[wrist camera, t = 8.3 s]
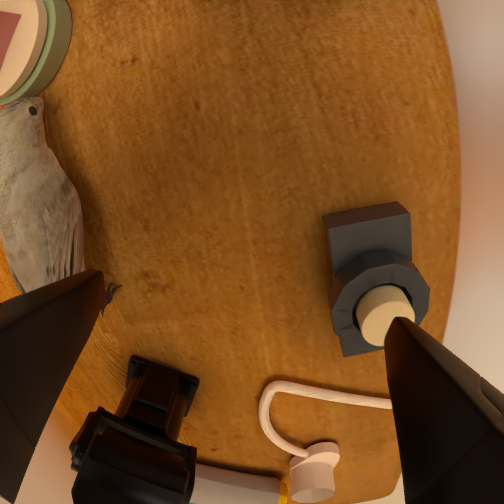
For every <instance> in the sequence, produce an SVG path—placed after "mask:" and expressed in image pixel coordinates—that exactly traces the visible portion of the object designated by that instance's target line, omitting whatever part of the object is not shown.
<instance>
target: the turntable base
mask: <svg viewBox="0 0 504 504" xmlns="http://www.w3.org/2000/svg"><path fill="white" fill-rule="evenodd" d="M42 1H43V3H44V5H45V8H46V12H47V30H46V36H45V41H44V44H43V48H42V51H41V53H40V56H39V58H38V60H37V63H36V65H35V66H34V68H33V70H32V72H31V73H30V75H29V76H28V78H27V79H26V80H25V82H24V83H23V84H22V85H21V86H20V87H19V88H18V89H17V90H16V91H15V92H13V93H12V94H10V95H9V96H7V97H4V98H1V99H0V105H6V104H10V103H11V102H13V101H15V100H17V99H19V98H22V97H35V96H36V95H38V94H39V93H40V92H41V91H42V90H43V89H44V88H45V87H46V86H47V85H48V84H49V83H50V82H51V80H52V79H53V78H54V76H55V75H56V73H57V72H58V70H59V68H60V66H61V64H62V62H63V60H64V58H65V55H66V52H67V49H68V46H69V42H70V38H71V31H72V17H71V11H70V8H69V6H68V4H67V2H66V0H42Z"/></svg>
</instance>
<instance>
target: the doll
mask: <svg viewBox="0 0 504 504" xmlns="http://www.w3.org/2000/svg"><path fill="white" fill-rule="evenodd" d="M46 30H47V12H46V8H45V5H44V3H43V1H42V0H0V99H1V98H4V97H7V96H9V95H10V94H12V93H13V92H15V91H16V90H17V89H18V88H19V87H20V86H21V85H22V84H23V83H24V82H25V80H26V79H27V78H28V76H29V75H30V73H31V72H32V70H33V68H34V66H35V65H36V63H37V60H38V58H39V56H40V53H41V51H42V48H43V44H44V41H45V36H46Z"/></svg>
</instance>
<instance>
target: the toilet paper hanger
mask: <svg viewBox="0 0 504 504" xmlns="http://www.w3.org/2000/svg"><path fill="white" fill-rule="evenodd" d="M280 391H282V392H287V393H292V394H297V395H302V396H307V397H312V398H318V399H324V400H329V401H335V402H342V403H348V404H355V405H362V406H370V407H378V408H386V409H392V404H391V399H384V398H376V397H369V396H363V395H356V394H350V393H344V392H338V391H333V390H327V389H322V388H317V387H312V386H307V385H302V384H297V383H292V382H288V381H274V382H272V383H269V384H268V385H267V386H266V387H265V389H264V391H263V394H262V396H261V399H260V401H259V409H258V416H259V421H260V425H261V427H262V429H263V431H264V433H265V435H266V436H267V437H268V438H269V439H270V440H271V441H272V442H273V443H274V444H276V445H277V446H278V447H280V448H281V449H283V450H285V451H287V452H289V453H291V454H294V455H296V456H295V457H293V458H292V459H291V460H290V463H289V467H290V474H291V498H292V500H294V501H296V502H301V503H314V502H321V501H324V500H328V499H329V498H331V497H333V496H334V495H335V486H334V477H333V469H334V468H335V466H336V464H337V463H338V461H339V459H340V455H339V448H338V445H337V444H335V443H332V442H322V443H317V444H314V445H312V446H310V447H308V448H307V449H302V448H298V447H296V446H294V445H292V444H290V443H288V442H287V441H285V440H284V439H282V438H281V437H280V436H279V435H278V434H277V433H276V432H275V430H274V429H273V427H272V425H271V423H270V419H269V408H270V403H271V400H272V398H273V396H274V394H275V393H276V392H280Z"/></svg>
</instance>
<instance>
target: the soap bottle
mask: <svg viewBox="0 0 504 504" xmlns="http://www.w3.org/2000/svg"><path fill="white" fill-rule="evenodd" d="M287 498H288V488H287V485H286V484H285V483H282V482H279V480H278V479H277V478H275V477H267V476H261V475H254V474H248V473H242V472H237V471H232V470H227V469H222V468H217V467H213V466H208V465H204V464H200V463H196V469H195V483H194V489H193V493H192V497H191V499H190V502H191V503H194V504H286V503H287Z"/></svg>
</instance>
